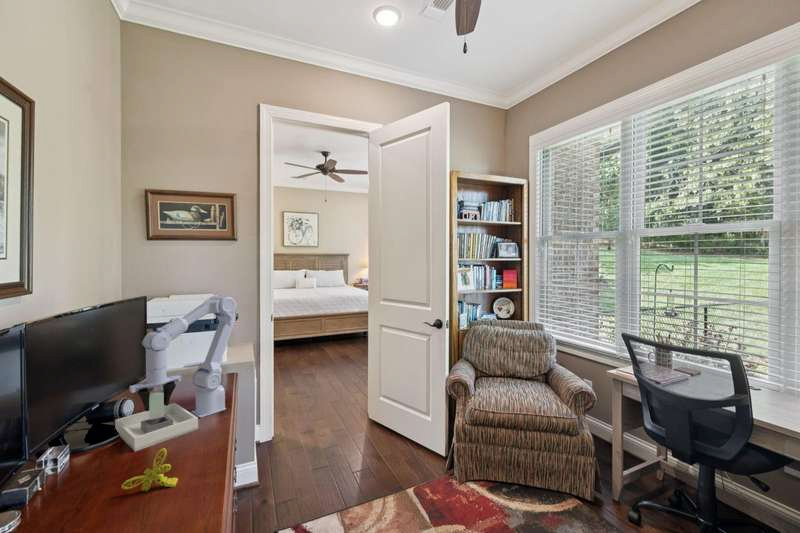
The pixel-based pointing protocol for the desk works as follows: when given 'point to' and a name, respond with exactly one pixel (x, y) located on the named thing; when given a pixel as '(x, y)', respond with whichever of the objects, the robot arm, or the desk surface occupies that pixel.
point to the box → (155, 426)
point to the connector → (156, 404)
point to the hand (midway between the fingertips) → (156, 407)
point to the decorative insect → (153, 475)
